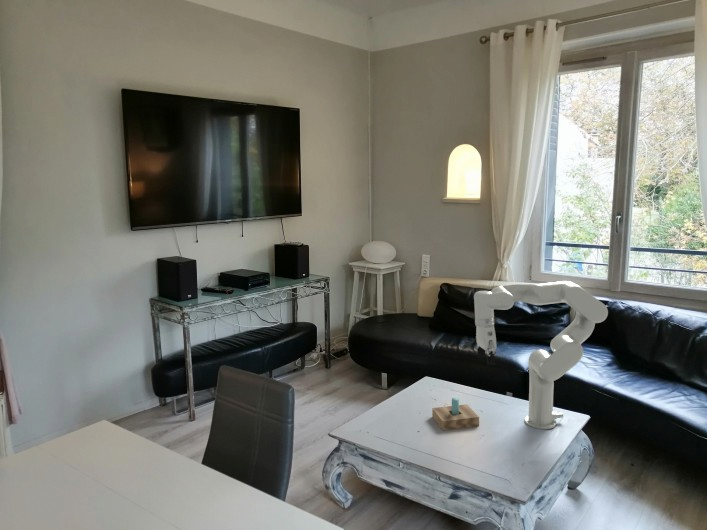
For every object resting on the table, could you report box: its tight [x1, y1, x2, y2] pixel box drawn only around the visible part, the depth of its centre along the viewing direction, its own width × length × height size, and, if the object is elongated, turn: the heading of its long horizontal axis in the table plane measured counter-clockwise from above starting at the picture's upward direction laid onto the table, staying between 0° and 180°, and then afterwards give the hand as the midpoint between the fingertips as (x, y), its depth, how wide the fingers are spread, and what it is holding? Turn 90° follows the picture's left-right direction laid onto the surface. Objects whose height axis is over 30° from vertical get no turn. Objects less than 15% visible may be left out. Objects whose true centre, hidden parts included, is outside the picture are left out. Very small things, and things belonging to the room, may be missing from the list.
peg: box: [451, 397, 460, 415], centre depth 230 cm, size 3×3×10 cm
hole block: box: [431, 403, 480, 431], centre depth 231 cm, size 16×13×4 cm
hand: (486, 361), depth 223 cm, fingers open, 9 cm apart
